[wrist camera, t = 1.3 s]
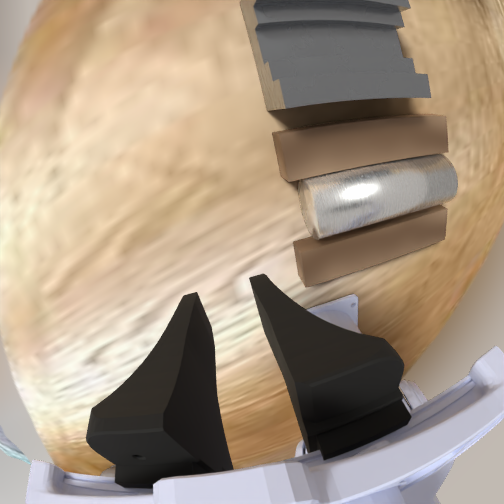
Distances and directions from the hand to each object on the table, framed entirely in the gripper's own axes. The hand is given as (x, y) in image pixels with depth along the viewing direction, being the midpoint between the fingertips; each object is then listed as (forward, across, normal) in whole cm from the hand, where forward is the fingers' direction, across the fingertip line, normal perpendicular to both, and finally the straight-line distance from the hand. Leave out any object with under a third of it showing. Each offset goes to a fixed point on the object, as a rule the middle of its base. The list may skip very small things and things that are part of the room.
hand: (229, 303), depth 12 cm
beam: (+8, -12, 0) cm, 15 cm away
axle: (+7, -12, 0) cm, 14 cm away
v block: (+8, -10, -11) cm, 17 cm away
